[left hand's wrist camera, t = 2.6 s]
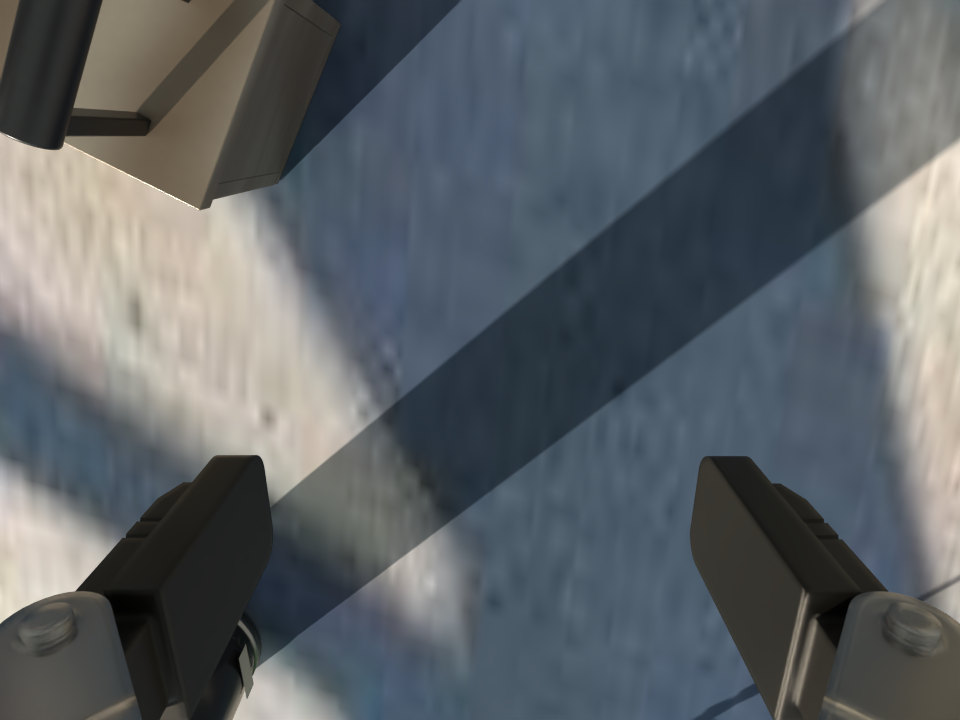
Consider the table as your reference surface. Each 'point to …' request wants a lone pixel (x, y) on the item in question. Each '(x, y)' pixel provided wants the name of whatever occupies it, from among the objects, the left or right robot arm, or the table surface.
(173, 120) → the lid
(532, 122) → the table surface
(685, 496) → the table surface
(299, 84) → the chest
